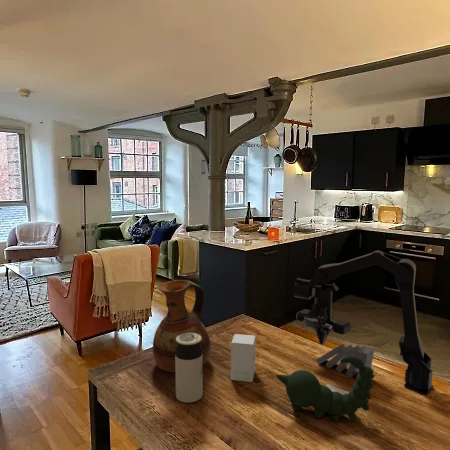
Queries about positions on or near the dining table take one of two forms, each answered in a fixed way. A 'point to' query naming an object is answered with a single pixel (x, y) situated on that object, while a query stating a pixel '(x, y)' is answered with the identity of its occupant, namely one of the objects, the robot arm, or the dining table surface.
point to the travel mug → (189, 367)
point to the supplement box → (243, 357)
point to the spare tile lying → (337, 389)
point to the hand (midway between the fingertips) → (321, 344)
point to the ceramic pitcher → (179, 323)
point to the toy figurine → (329, 392)
